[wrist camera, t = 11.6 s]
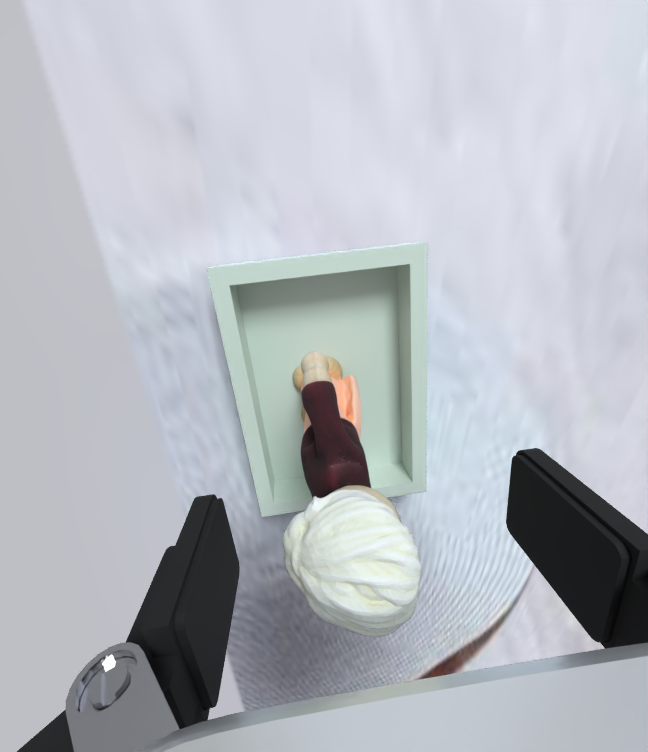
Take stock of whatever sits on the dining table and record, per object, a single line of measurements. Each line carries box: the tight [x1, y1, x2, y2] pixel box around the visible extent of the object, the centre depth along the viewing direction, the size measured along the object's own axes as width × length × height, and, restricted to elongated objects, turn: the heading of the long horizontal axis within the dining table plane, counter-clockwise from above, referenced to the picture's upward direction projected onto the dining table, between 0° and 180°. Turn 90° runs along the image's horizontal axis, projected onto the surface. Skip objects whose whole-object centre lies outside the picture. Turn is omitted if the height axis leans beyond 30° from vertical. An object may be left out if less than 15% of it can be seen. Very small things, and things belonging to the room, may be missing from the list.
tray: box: [206, 243, 428, 517], centre depth 18 cm, size 14×10×3 cm
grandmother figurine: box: [283, 352, 422, 637], centre depth 13 cm, size 8×4×13 cm, turn 19°
